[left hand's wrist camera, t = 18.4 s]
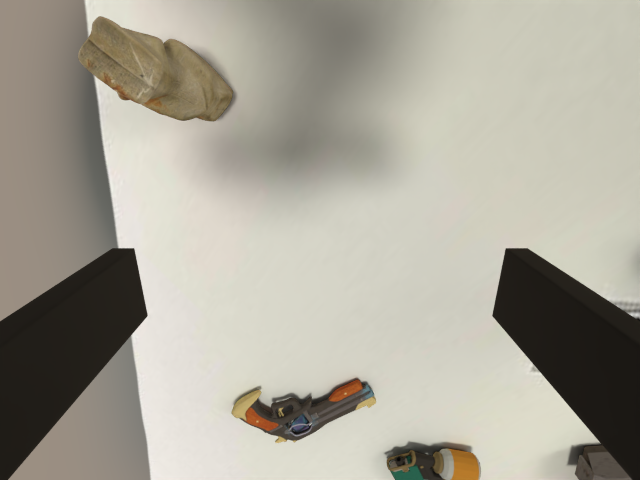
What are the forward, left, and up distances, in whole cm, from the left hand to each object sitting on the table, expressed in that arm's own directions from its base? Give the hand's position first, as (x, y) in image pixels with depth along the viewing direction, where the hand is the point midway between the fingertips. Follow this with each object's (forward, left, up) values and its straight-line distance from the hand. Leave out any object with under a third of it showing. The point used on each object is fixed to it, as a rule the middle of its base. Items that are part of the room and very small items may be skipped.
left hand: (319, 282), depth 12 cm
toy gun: (+33, -1, -28) cm, 44 cm away
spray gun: (+48, +21, -28) cm, 60 cm away
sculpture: (-8, -13, -28) cm, 32 cm away
